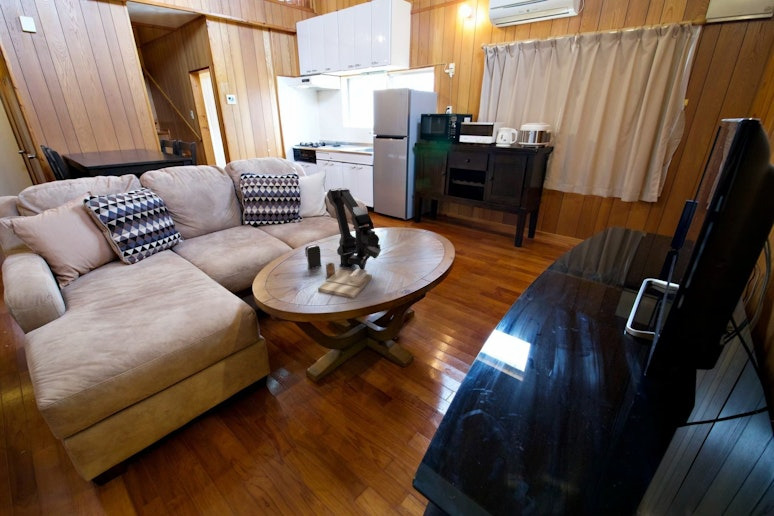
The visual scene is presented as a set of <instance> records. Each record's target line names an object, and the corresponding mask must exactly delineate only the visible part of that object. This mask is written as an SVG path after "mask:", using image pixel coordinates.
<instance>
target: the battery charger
mask: <svg viewBox="0 0 774 516" xmlns="http://www.w3.org/2000/svg"><path fill="white" fill-rule="evenodd" d="M304 250H305V251H304V252H305V257H306V260H307V268H308V269H309V270H312V269H316V268H318V267H322V261H321V256H322V255H321V247H320V246H319V245H318V244H312V245H308V246H305V249H304Z"/></svg>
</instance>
